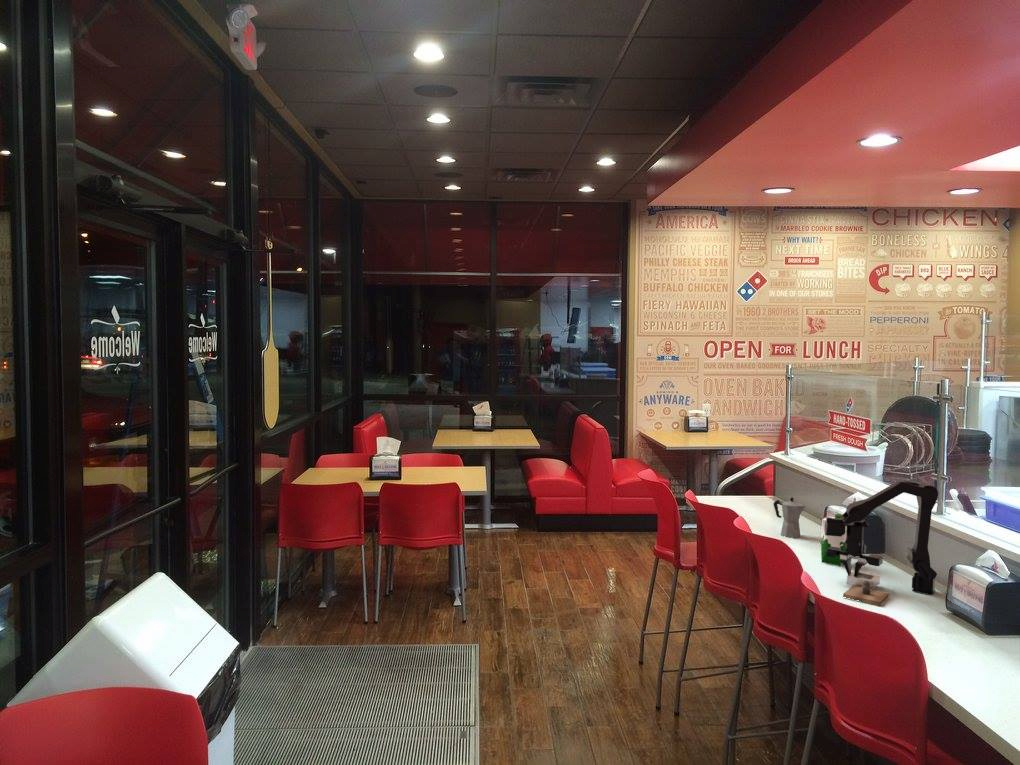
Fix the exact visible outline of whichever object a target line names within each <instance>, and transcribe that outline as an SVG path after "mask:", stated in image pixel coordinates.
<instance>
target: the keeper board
mask: <svg viewBox="0 0 1020 765" xmlns="http://www.w3.org/2000/svg"><path fill="white" fill-rule="evenodd" d="M843 597H846V598H850V599H854V600H859V601H861V602H860V603H863V602H865V603H864V604H867V603H868V605H872V604H873V605H872V606H877V607H881V606H882V605H883V604H884V603H885V602H886V601H887V600H888V599H887V598H888V597H890V593H889V592H884V591H880V590H875V589H873V590H872V589H870V583H869V582H868V581H864V582H863V587H859V586H855V585H851V586H850V587H849V588H848V589H847V590H845V591H844V592H843V595H842V598H843ZM846 598H845V599H846ZM850 599H849V600H850ZM886 599H887V600H886ZM854 600H853V601H854ZM885 600H886V601H885ZM859 601H858V602H859ZM884 601H885V602H884ZM883 602H884V603H883ZM882 603H883V604H882ZM881 604H882V605H881ZM880 605H881V606H880Z"/></svg>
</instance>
